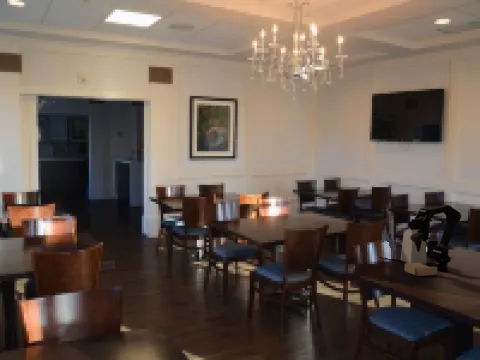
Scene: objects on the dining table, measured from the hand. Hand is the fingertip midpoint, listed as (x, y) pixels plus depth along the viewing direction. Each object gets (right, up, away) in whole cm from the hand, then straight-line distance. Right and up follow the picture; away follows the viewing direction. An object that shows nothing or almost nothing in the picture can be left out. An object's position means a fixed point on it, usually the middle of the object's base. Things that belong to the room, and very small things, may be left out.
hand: (423, 253), depth 287 cm
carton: (-4, -12, 0) cm, 13 cm away
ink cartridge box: (-11, -9, +35) cm, 38 cm away
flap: (0, -12, -5) cm, 13 cm away
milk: (+4, -10, +28) cm, 30 cm away
